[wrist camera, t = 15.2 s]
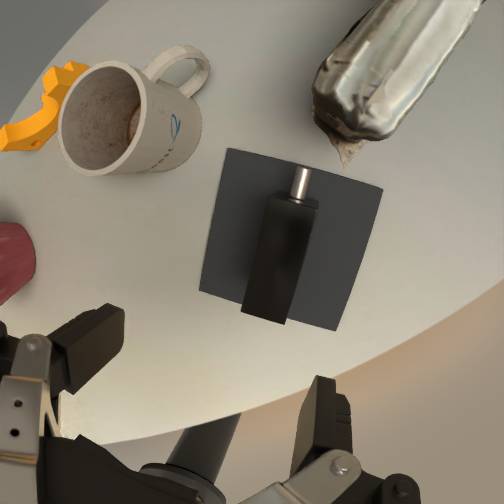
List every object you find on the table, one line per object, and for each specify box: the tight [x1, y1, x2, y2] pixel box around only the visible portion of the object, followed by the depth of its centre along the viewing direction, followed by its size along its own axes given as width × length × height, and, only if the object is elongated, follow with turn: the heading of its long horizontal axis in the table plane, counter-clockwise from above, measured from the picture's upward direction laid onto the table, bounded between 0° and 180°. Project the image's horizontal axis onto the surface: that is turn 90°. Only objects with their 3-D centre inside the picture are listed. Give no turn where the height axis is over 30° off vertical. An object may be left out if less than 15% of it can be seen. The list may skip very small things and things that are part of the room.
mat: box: [199, 148, 383, 331], centre depth 28 cm, size 14×14×1 cm
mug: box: [58, 45, 210, 176], centre depth 23 cm, size 12×9×10 cm
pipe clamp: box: [0, 61, 89, 152], centre depth 27 cm, size 12×4×6 cm, turn 116°
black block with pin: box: [241, 166, 319, 325], centre depth 24 cm, size 4×11×6 cm, turn 167°
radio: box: [311, 0, 486, 168], centre depth 15 cm, size 23×9×15 cm, turn 138°
